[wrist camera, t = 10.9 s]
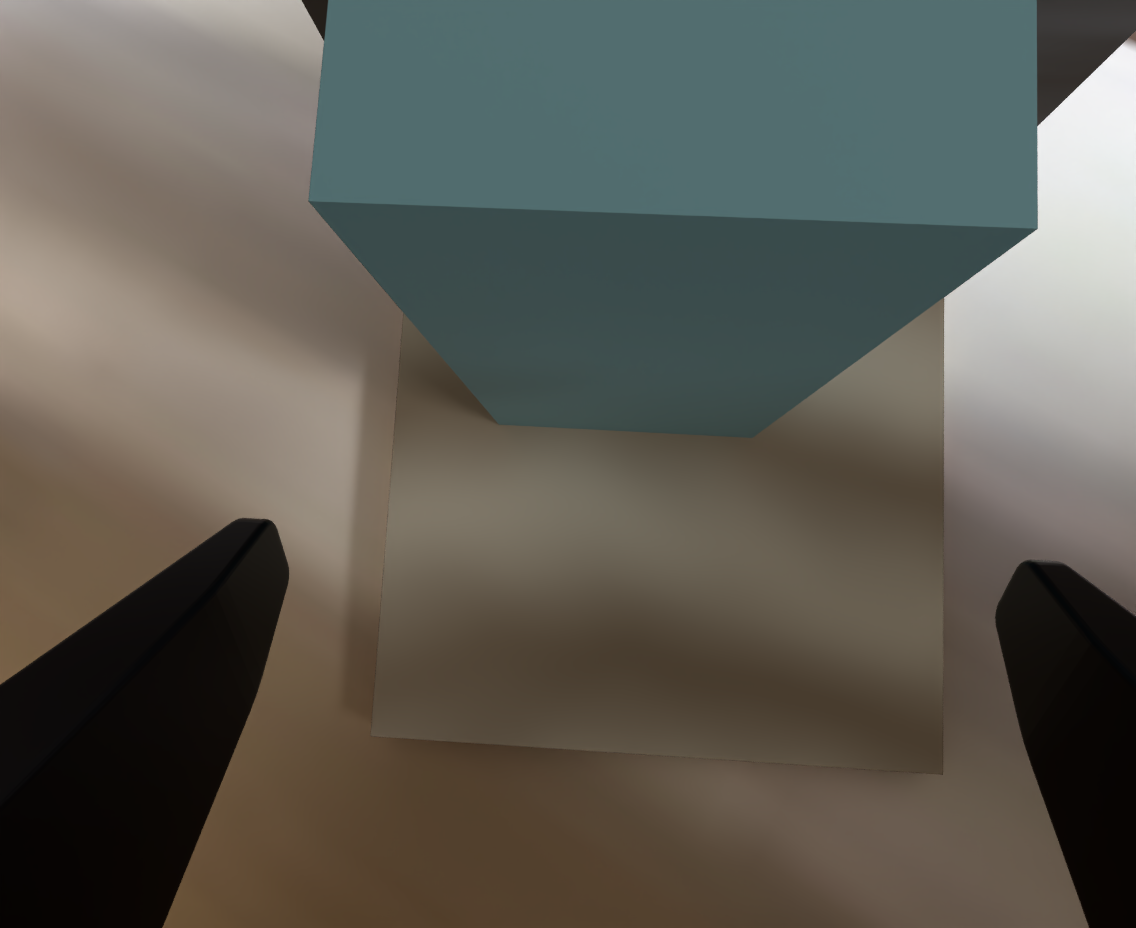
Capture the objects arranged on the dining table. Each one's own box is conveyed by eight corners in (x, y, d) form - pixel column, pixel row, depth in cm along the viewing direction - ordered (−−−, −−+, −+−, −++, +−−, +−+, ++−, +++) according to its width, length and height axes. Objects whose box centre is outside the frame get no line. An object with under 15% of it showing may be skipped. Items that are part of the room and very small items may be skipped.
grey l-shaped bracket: (925, 762, 20) (1333, 1036, 9) (382, 727, 20) (123, 937, 9) (928, 169, 21) (1273, -233, 10) (425, 155, 22) (248, -235, 11)
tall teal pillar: (752, 438, 20) (1037, 227, 7) (498, 424, 20) (308, 201, 7) (757, 285, 20) (1036, -187, 7) (509, 275, 20) (347, -193, 7)
